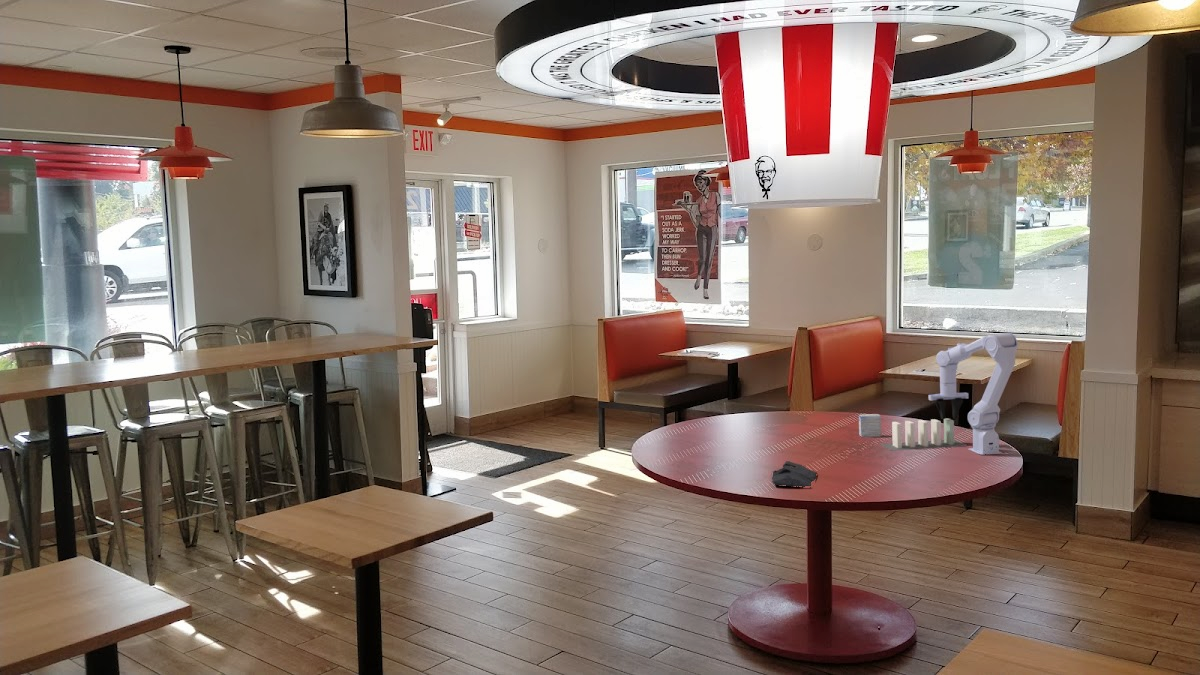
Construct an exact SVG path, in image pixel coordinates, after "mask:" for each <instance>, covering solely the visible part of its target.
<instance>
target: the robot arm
mask: <svg viewBox="0 0 1200 675" xmlns="http://www.w3.org/2000/svg"><path fill="white" fill-rule="evenodd" d="M1018 347H1019V341H1018V340H1017V338H1016V335H1014V334H1013V333H1012V332H1006V333H998V334H988V335H985V336H982V337H981V338H979V339H977V340H974V341H973V342H970V343H963V342H959V343H957V344H956V346H953V347H948V348H947V350H940V351H939V352H938V353H937V354H936V355H935V356H936V357H935V359H936V360H935V361H936V363H937V365H938V366H939V392H940V393H935V394H928V400H929V401H933V402H934V404H935V405H936V407H937V410H938V413H939V416H940V419H941V420H944V419H946V403H947V402H946V401H945V400H950V401H951V407H952V408H951V409H952V412H951V413H952V418H953V419H954V420H955V419H957V418H958V415H959V412H960V409H961V406H962V405H963V402H964V399H969V392H957V370H958V364H959V363H960V362H962V361H966V360H967V359H970V358H972V355H973V353H976V352H978V351H981V350H986V351H987V353H988V354H989V356H990V357H991V358H992V360H993V362H995V364H996V365H995V367H994V368H993V371H992V374H991V376H990V379H989V380H988V383H987V385H986V388H985V390H984V393H983V395H982V398H981V399H980V401H978V402H977V403H976V404H975V405H974V406H973V407H972V409H971V410H970V411H969V412H968V413H967V422H968V423H969V425H970V427H971V428H972V447H971V448H970V447H969V448H968V451H972V452H974V453H976V454H980V456H985V454H986V455H999V454H1002V451H1000V437H999V434H998V432H997V431H995V430H996V429H995V427H996V426H997V424H998V422H999V420H1000V412H1001V408H1000V406H999V405H998V404H999V402H1000V399H1001V397H1002V395H1003V393H1004V390H1005V388H1006V386H1007V384H1008V381H1009V378H1010V376H1011V375H1012V372H1013V370H1014V368H1015V365H1016V352H1017V351H1018Z"/></svg>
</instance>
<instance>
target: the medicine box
mask: <svg viewBox="0 0 1200 675" xmlns="http://www.w3.org/2000/svg"><path fill="white" fill-rule="evenodd" d="M881 417H882V416H881V414H878V413H871V414H867V413H865V414H859V415H858V433H859V437H860V436H861V437H864V438H876V437H882V418H881ZM861 437H860V438H861Z"/></svg>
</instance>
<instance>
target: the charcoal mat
mask: <svg viewBox="0 0 1200 675" xmlns="http://www.w3.org/2000/svg"><path fill="white" fill-rule="evenodd" d="M879 445H880V446H882V447H884V448H886V449H887V450H889V451H893V452H894V451H908V450H909V451H910V450H922V449H923V450H924V449H925V450H926V449H940V448H956V447H957V448H958V447H968V446H969V445H967V444H965V443H963V442H961V441H958V440H956V439H954V445H949V444H947V443H945V442H944V439H941V445H939V446H937V445H935V444H932V443H931V440H928V446H922V445H920V444H918V441H915V447H909V446H907V445H906V442H902V448H897V447H895V446H893V442H892V443H891V442H890V443H880V444H879Z"/></svg>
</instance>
